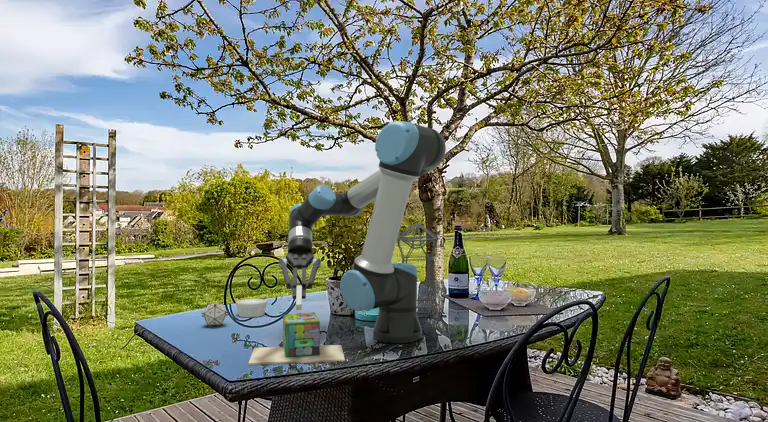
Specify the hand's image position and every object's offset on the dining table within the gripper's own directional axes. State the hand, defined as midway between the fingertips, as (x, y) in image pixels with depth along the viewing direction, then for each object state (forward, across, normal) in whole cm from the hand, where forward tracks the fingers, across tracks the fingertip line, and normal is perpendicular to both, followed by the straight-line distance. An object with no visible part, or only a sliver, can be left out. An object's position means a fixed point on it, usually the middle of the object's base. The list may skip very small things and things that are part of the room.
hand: (298, 307), depth 135 cm
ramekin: (-25, +18, -42) cm, 53 cm away
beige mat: (+13, 0, -4) cm, 13 cm away
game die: (-14, +28, -30) cm, 43 cm away
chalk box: (+3, 0, -6) cm, 7 cm away
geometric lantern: (-20, -43, -37) cm, 60 cm away
